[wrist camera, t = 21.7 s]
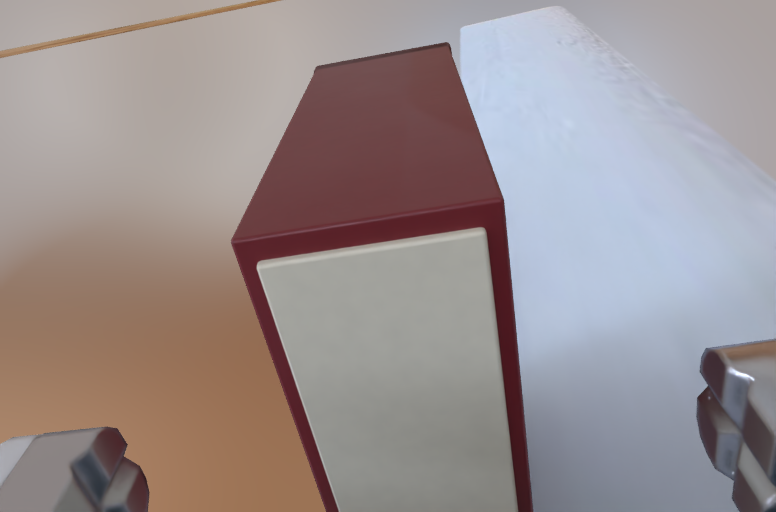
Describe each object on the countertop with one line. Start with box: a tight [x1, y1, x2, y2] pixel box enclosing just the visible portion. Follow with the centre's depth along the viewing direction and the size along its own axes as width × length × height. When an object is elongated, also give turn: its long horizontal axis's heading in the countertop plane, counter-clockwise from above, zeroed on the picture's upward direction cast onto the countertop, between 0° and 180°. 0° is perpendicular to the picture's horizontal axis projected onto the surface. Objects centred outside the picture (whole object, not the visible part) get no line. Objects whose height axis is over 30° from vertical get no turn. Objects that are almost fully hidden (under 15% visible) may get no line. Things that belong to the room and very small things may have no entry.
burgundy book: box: [231, 42, 533, 512], centre depth 17 cm, size 4×11×14 cm, turn 179°
